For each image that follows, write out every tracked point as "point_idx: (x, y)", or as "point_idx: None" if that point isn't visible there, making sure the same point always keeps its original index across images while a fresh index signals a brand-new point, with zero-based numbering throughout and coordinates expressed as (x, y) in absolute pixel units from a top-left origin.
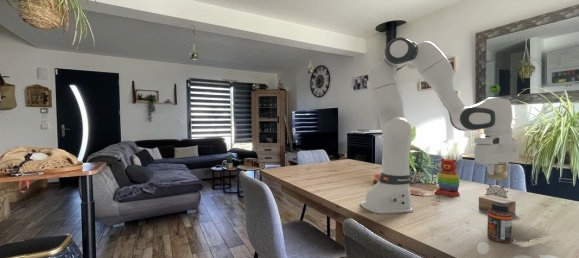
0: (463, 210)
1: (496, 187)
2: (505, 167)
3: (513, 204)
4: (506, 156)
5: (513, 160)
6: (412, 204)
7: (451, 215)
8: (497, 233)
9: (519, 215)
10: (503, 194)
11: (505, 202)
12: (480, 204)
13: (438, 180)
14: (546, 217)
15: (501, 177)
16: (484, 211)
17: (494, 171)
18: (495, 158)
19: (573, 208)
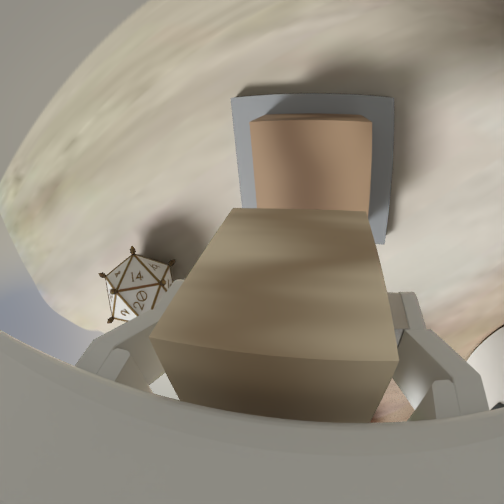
0: (394, 256)
1: (134, 304)
2: (226, 306)
3: (271, 119)
4: (86, 479)
5: (13, 347)
6: (502, 337)
7: (486, 237)
8: None
9: (264, 96)
10: (134, 266)
11: (339, 126)
12: None
13: None
14: (142, 84)
15: (336, 226)
16: (370, 193)
17: (398, 316)
18: (485, 498)
19: (17, 151)
